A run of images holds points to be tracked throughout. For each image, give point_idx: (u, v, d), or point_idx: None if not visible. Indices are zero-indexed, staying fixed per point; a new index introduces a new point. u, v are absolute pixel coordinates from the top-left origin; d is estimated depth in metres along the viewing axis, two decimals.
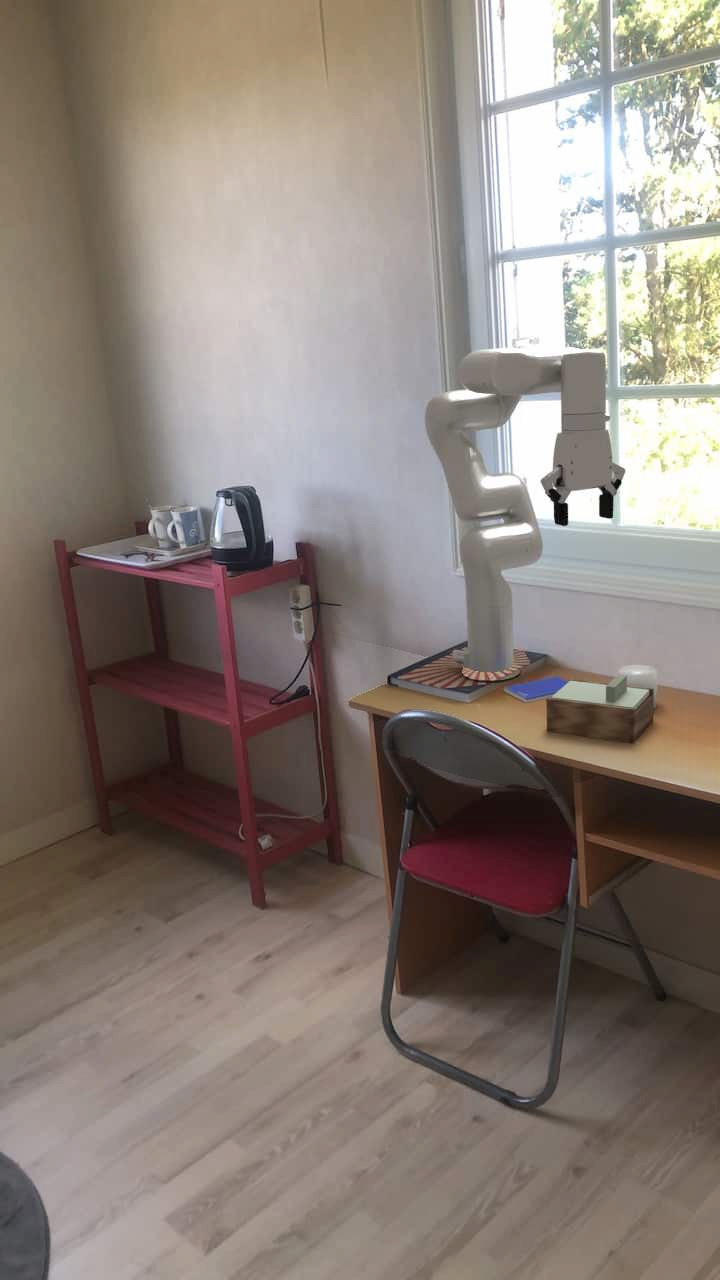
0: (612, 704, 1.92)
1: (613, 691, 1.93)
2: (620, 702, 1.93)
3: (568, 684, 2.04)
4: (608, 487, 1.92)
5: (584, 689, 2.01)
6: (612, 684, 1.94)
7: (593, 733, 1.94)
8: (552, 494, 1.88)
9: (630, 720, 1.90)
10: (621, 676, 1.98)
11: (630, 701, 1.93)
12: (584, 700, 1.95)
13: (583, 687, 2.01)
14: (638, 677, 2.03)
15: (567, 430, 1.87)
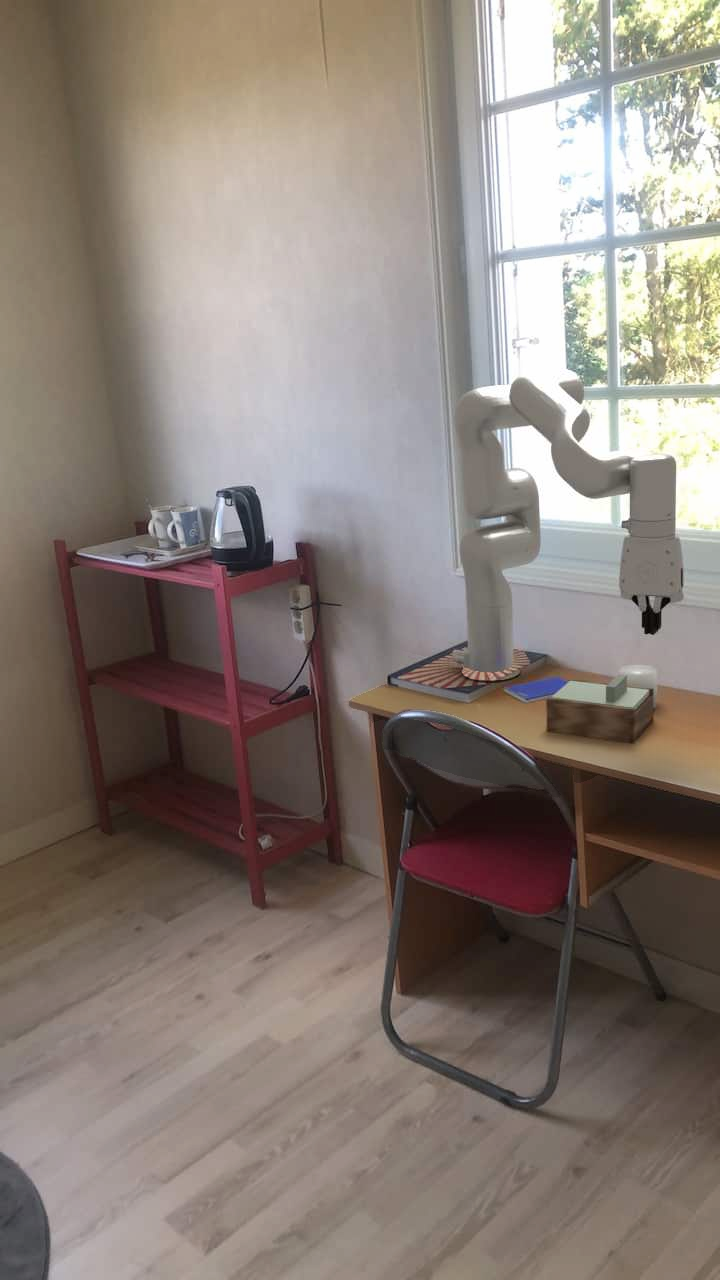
0: (612, 704, 1.92)
1: (613, 691, 1.93)
2: (620, 702, 1.93)
3: (568, 684, 2.04)
4: (647, 595, 1.90)
5: (584, 689, 2.01)
6: (612, 684, 1.94)
7: (593, 733, 1.94)
8: None
9: (630, 720, 1.90)
10: (621, 676, 1.98)
11: (630, 701, 1.93)
12: (584, 700, 1.95)
13: (583, 687, 2.01)
14: (638, 677, 2.03)
15: (674, 533, 1.83)
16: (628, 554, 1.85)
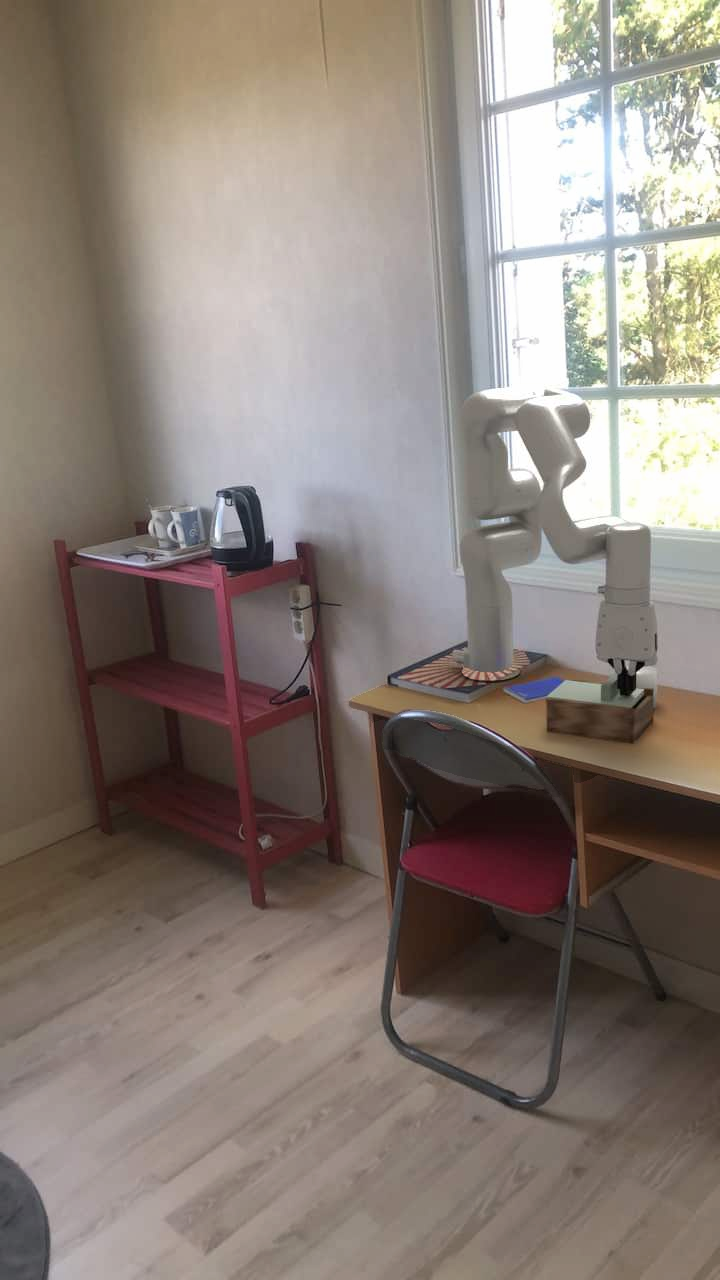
0: (607, 703, 1.93)
1: (608, 690, 1.93)
2: (615, 702, 1.93)
3: (563, 683, 2.04)
4: None
5: (579, 688, 2.01)
6: (607, 683, 1.94)
7: (593, 733, 1.94)
8: None
9: (630, 720, 1.90)
10: (616, 675, 1.98)
11: (624, 700, 1.93)
12: (579, 699, 1.95)
13: (578, 686, 2.02)
14: (638, 677, 2.03)
15: (649, 600, 1.89)
16: (604, 619, 1.91)
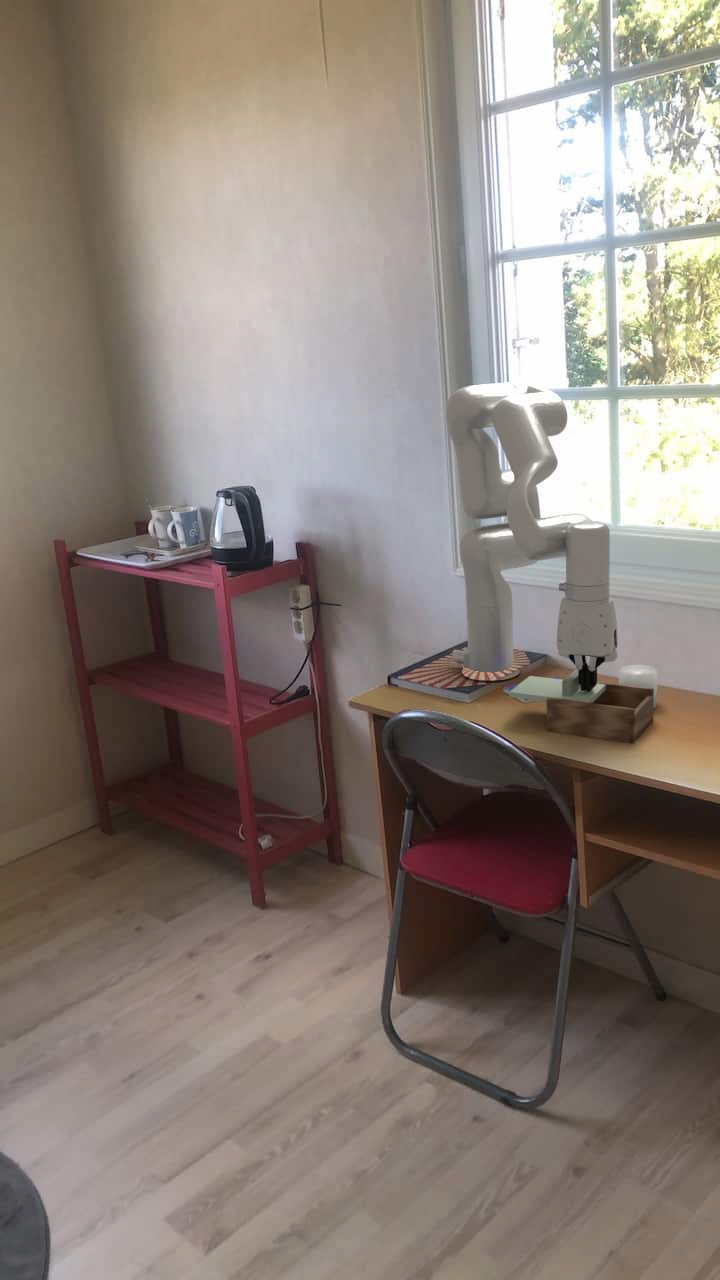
0: (568, 698, 1.96)
1: (569, 685, 1.97)
2: (576, 697, 1.97)
3: (527, 679, 2.08)
4: None
5: (542, 684, 2.05)
6: (569, 679, 1.98)
7: (593, 733, 1.94)
8: None
9: (630, 720, 1.90)
10: None
11: (585, 696, 1.97)
12: (541, 695, 1.99)
13: (541, 682, 2.06)
14: (638, 677, 2.03)
15: (608, 597, 1.92)
16: (564, 616, 1.94)
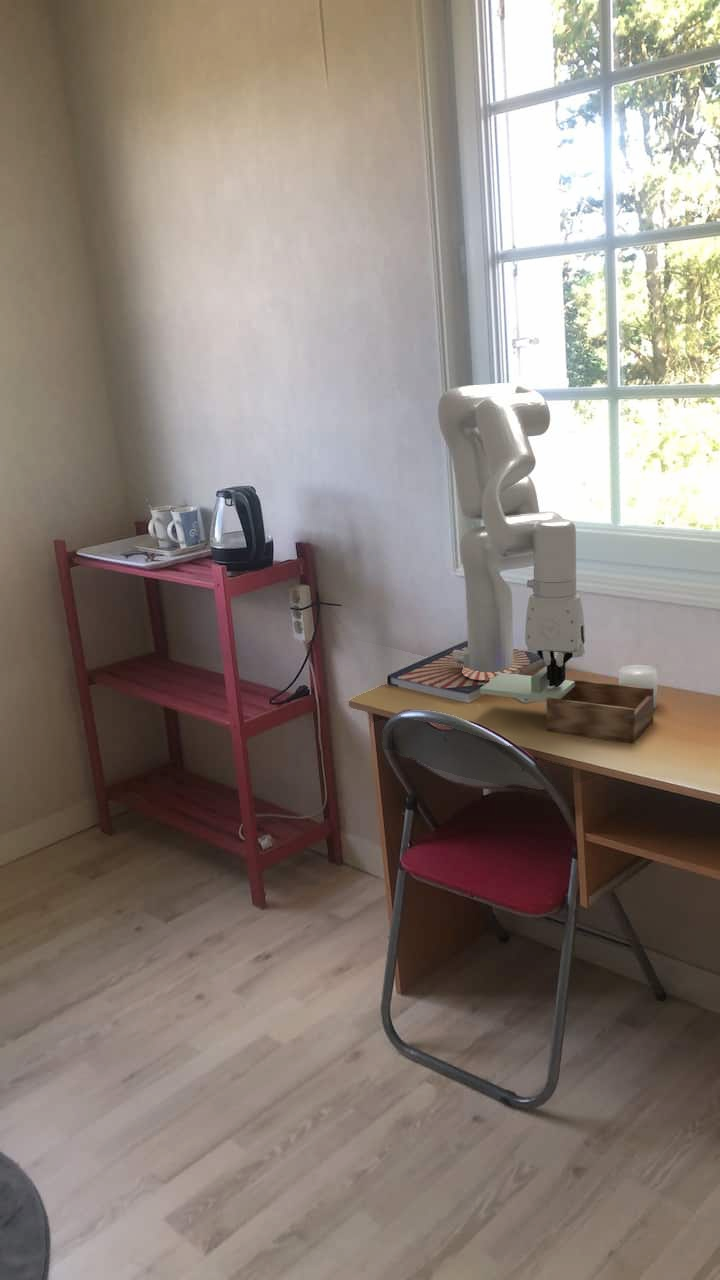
0: (537, 695, 1.99)
1: (538, 682, 2.00)
2: (545, 693, 2.00)
3: (498, 676, 2.11)
4: None
5: (513, 680, 2.08)
6: (538, 675, 2.01)
7: (593, 733, 1.94)
8: None
9: (630, 720, 1.90)
10: None
11: (554, 692, 2.00)
12: (511, 691, 2.02)
13: (512, 679, 2.08)
14: (638, 677, 2.03)
15: (575, 593, 1.95)
16: (532, 612, 1.97)
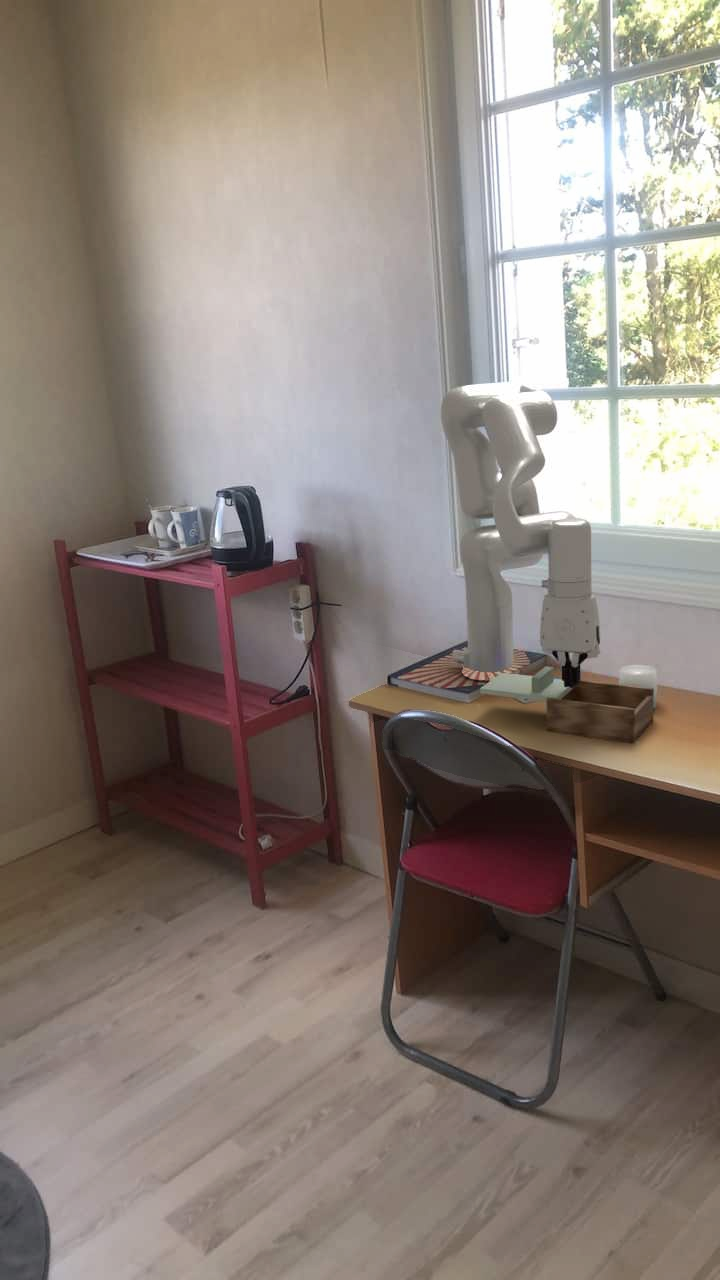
0: (537, 695, 1.99)
1: (538, 682, 2.00)
2: (545, 693, 2.00)
3: (499, 676, 2.11)
4: None
5: (513, 680, 2.08)
6: (538, 675, 2.01)
7: (593, 733, 1.94)
8: None
9: (630, 720, 1.90)
10: (548, 667, 2.05)
11: (554, 692, 2.00)
12: (511, 691, 2.02)
13: (512, 679, 2.08)
14: (638, 677, 2.03)
15: (590, 593, 1.94)
16: (547, 612, 1.96)
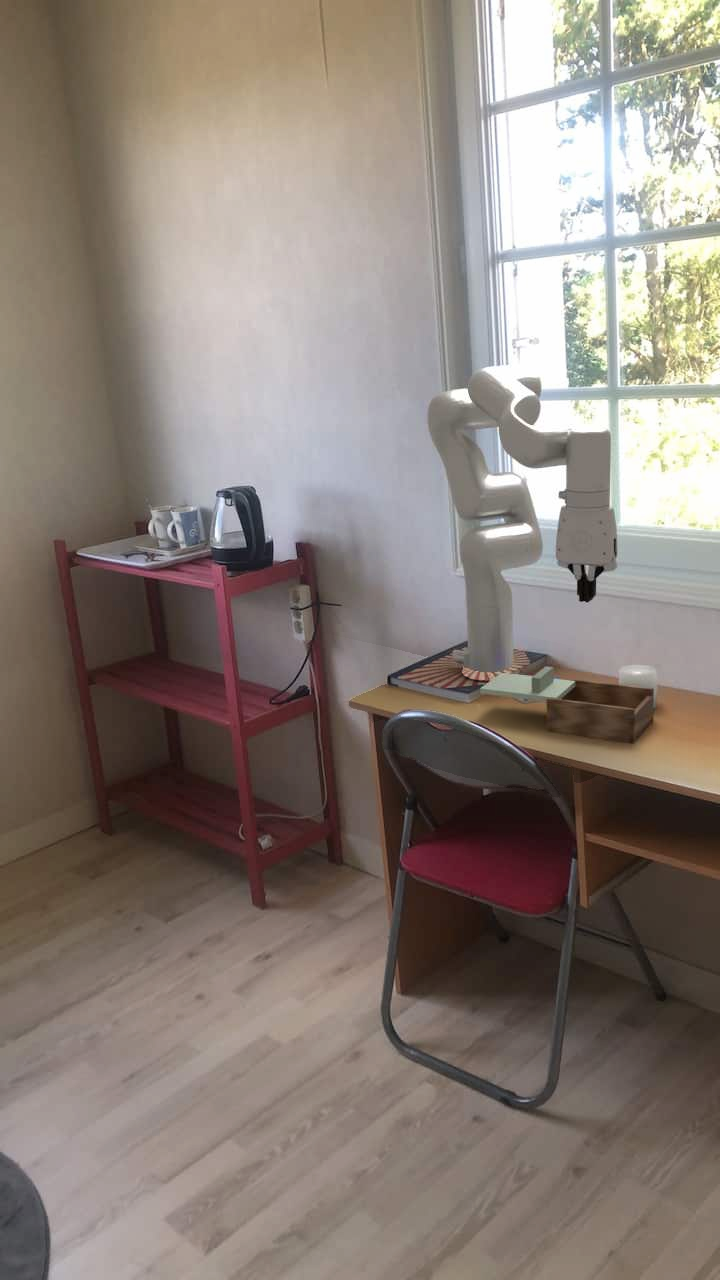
0: (537, 695, 1.99)
1: (538, 682, 2.00)
2: (545, 693, 2.00)
3: (499, 676, 2.11)
4: (583, 564, 1.96)
5: (513, 680, 2.08)
6: (538, 675, 2.01)
7: (593, 733, 1.94)
8: None
9: (630, 720, 1.90)
10: (548, 667, 2.05)
11: (554, 692, 2.00)
12: (511, 691, 2.02)
13: (512, 679, 2.08)
14: (638, 677, 2.03)
15: (609, 504, 1.89)
16: (564, 524, 1.91)
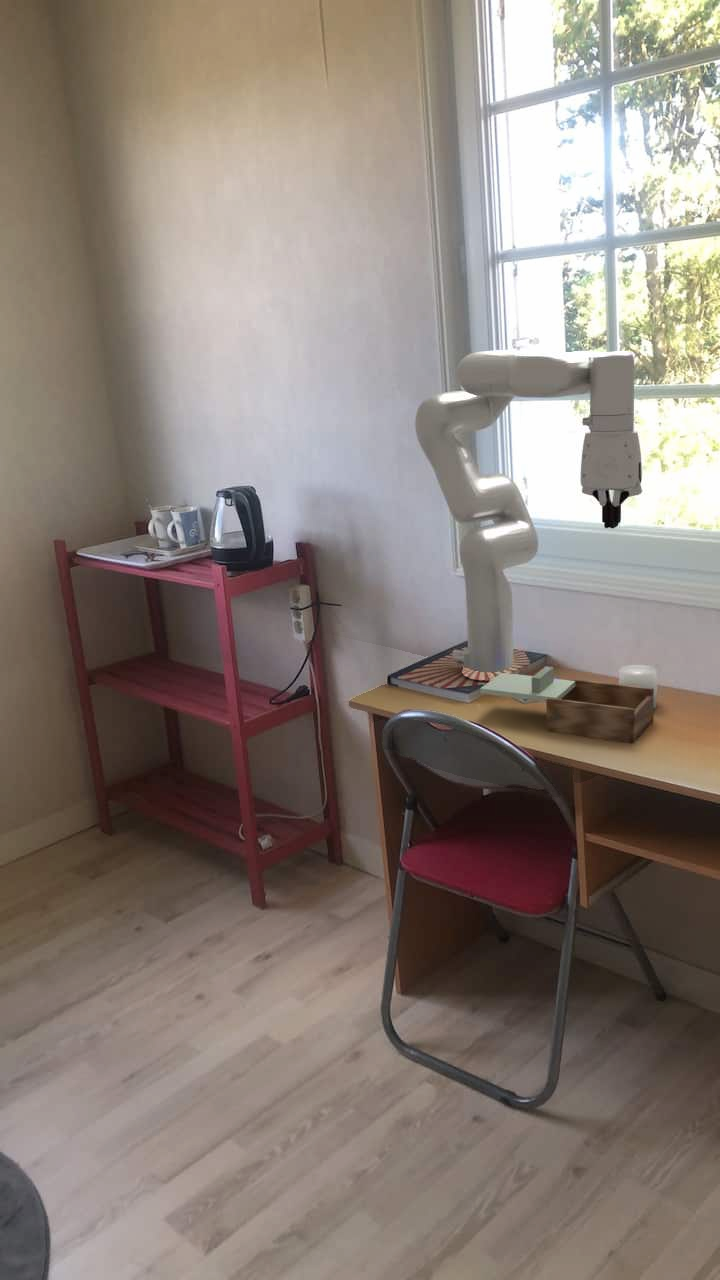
0: (537, 695, 1.99)
1: (538, 682, 2.00)
2: (545, 693, 2.00)
3: (499, 676, 2.11)
4: None
5: (513, 680, 2.08)
6: (538, 675, 2.01)
7: (593, 733, 1.94)
8: None
9: (630, 720, 1.90)
10: (548, 667, 2.05)
11: (554, 692, 2.00)
12: (511, 691, 2.02)
13: (512, 679, 2.08)
14: (638, 677, 2.03)
15: (633, 428, 1.91)
16: (588, 449, 1.93)
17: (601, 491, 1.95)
